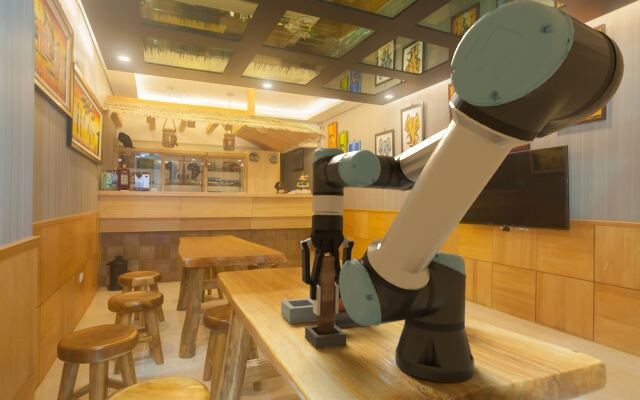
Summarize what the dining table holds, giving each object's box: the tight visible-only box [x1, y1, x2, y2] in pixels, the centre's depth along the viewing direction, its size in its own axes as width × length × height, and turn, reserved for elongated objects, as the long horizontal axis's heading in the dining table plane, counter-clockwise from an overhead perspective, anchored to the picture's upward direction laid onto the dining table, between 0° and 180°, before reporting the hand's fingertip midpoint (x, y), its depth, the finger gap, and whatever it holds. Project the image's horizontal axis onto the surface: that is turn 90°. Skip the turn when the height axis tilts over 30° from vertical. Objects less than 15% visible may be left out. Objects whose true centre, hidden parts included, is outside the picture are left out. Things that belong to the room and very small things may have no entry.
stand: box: [304, 324, 348, 349], centre depth 84 cm, size 8×8×2 cm
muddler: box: [316, 254, 335, 335], centre depth 84 cm, size 4×4×20 cm
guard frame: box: [334, 311, 362, 329], centre depth 100 cm, size 12×12×9 cm
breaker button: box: [338, 298, 346, 312], centre depth 100 cm, size 4×4×4 cm
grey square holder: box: [280, 297, 317, 324], centre depth 101 cm, size 9×9×4 cm
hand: (325, 312), depth 84 cm, fingers closed on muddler, 4 cm apart
